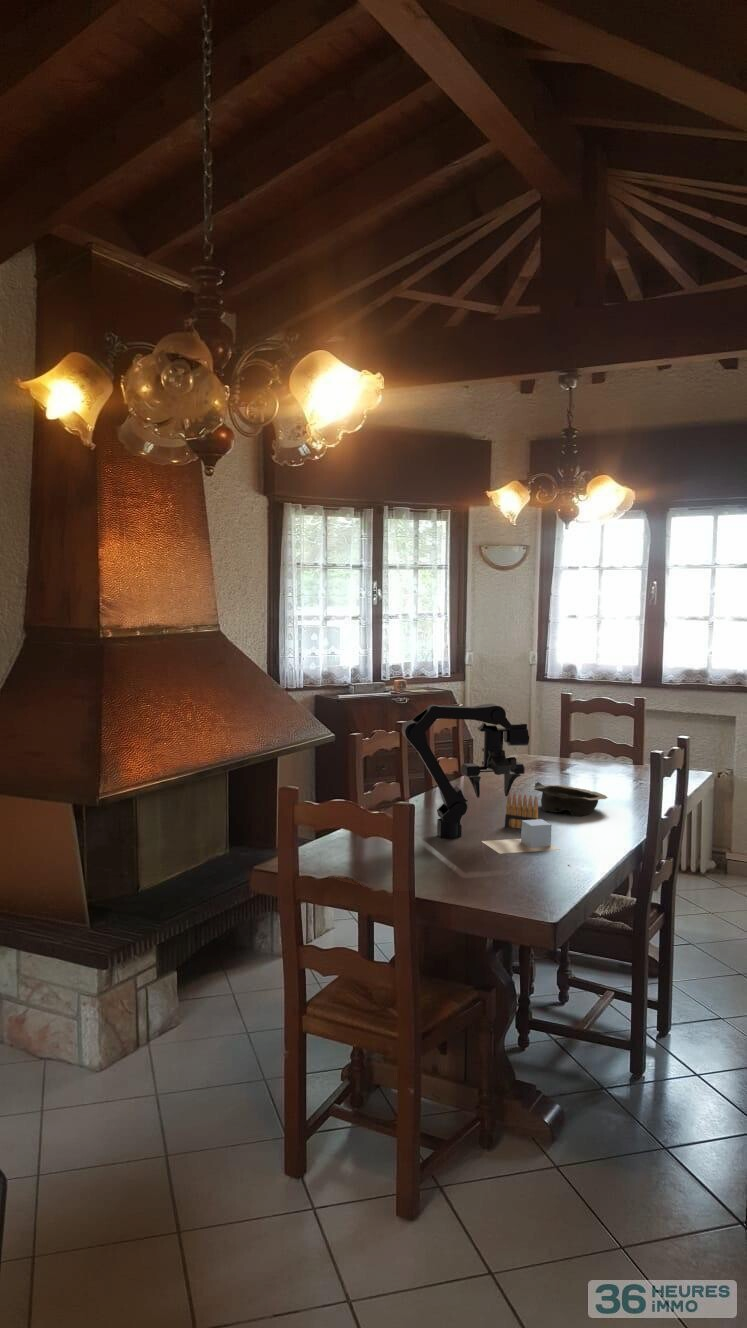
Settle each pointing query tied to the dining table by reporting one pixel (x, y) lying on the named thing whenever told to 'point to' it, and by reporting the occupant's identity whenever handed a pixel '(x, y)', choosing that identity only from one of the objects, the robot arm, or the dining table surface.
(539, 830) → the pale grey cube
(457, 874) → the dining table surface
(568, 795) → the stone bowl
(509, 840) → the stub board
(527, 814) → the ammunition clip
